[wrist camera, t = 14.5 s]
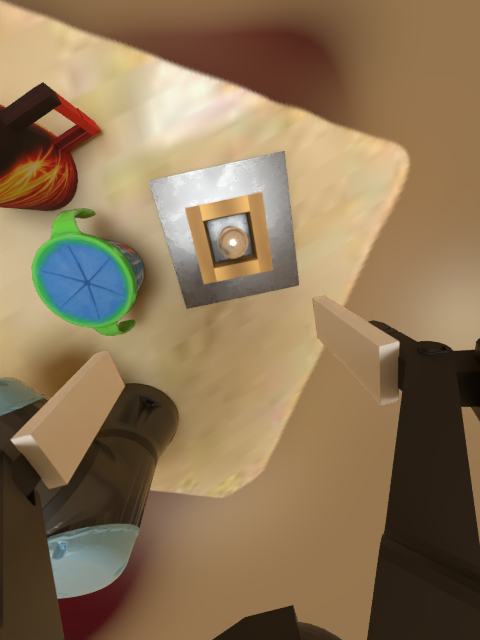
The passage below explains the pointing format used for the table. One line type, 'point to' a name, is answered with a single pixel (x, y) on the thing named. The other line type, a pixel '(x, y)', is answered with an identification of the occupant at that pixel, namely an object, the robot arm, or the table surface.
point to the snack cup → (87, 276)
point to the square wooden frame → (257, 232)
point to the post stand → (228, 226)
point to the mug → (39, 152)
